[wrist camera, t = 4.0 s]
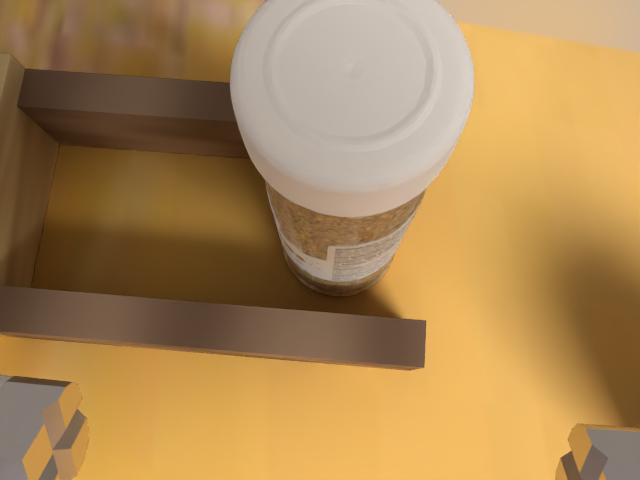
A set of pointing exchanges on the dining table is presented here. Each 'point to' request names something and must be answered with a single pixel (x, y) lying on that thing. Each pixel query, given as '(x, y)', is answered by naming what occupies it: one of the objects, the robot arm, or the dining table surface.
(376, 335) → the guide rail
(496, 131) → the dining table surface
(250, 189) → the dining table surface
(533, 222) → the dining table surface
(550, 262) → the dining table surface
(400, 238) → the spice jar
